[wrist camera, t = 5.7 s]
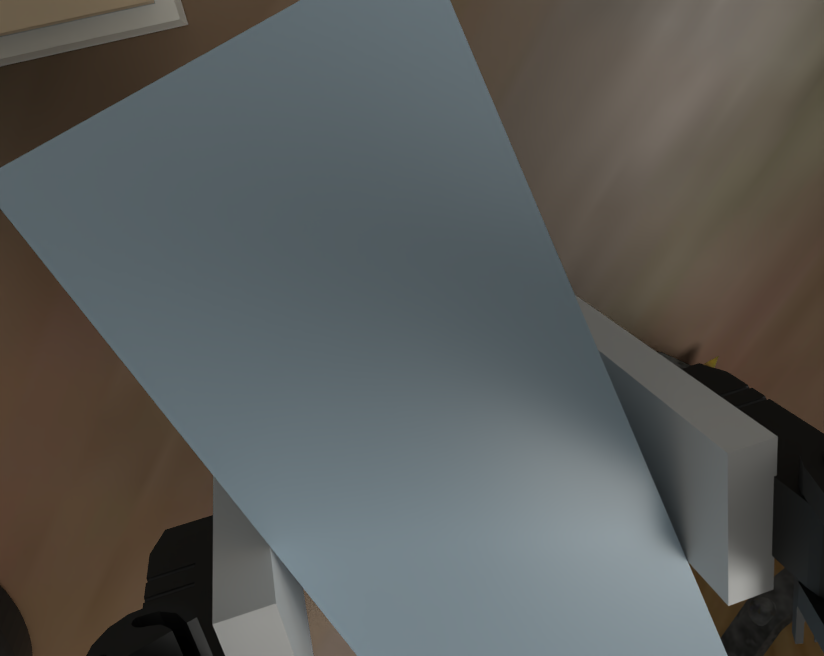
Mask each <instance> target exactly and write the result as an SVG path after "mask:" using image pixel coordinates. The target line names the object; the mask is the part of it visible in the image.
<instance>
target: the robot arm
mask: <svg viewBox="0 0 824 656" xmlns="http://www.w3.org/2000/svg"><path fill="white" fill-rule="evenodd" d="M575 297H576V299H577V302H578V304H579V306H580V309H581V311H582V313H583V316H584V318H585V320H586V323H587V325H588V327H589V330H590V332H591V335H592V337H593V339H594V342H595V344H596V346H597V349H598V351H599V353H600V356H601V358H602V361H603V363H604V365H605V368H606V370H607V372H608V375H609V377H610V379H611V382H612V384H613V386H614V389H615V391H616V394H617V396H618V398H619V401H620V403H621V405H622V408H623V410H624V412H625V415H626V417H627V419H628V422H629V424H630V427H631V429H632V431H633V434H634V436H635V438H636V441H637V443H638V445H639V448H640V450H641V453H642V455H643V457H644V460H645V462H646V464H647V467H648V469H649V471H650V474H651V476H652V478H653V481H654V483H655V486H656V488H657V490H658V493H659V495H660V497H661V500H662V502H663V504H664V507H665V509H666V512H667V514H668V516H669V519H670V521H671V523H672V526H673V528H674V530H675V533H676V535H677V537H678V540H679V542H680V545H681V547H682V549H683V552H684V554H685V556H686V559H687V561H688V562H689V563H690V564H691V565H692V567H693V568H694V569H695V570H696V571H697V572H698V573H699V574H700V575H701V576H702V578H703V579H704V580H705V581H706V582H707V583H708V584H709V585H710V586H711V587H712V589H713V590H714V591H715V592H716V593H717V594H718V595H719V596H720V597H721V598H722V600H723V601H724V602H725V603H726V604H727V605H728V606H730V605H733V604H736V603H738V602H741V601H744V600H746V599H749V598H752V597H754V596H757V595H760V594H763V593H765V592H768V591H771V590H773V588H774V558H775V559H776V560H777V561H778V562H779V563H780V564H782V565H783V566H784V567H785V568H786V569H787V570H788V571H789V572H790V573H791V574H792V575H793V576H794V592H793V615H792V634H793V637H794V641H795V644H803V640H804V623H805V621H806V623H807V624H808V626H809V628H810V630H811V631H812V633H813V635H814V642H818V644H819V646H820V647H821V649H822V651H823V653H824V434H823V433H822V432H820V431H819V430H817V429H816V428H814V427H812V426H811V425H809V424H808V423H806V422H805V421H803V420H802V419H800V418H798V417H797V416H795V415H794V414H792V413H791V412H789V411H788V410H786V409H784V408H783V407H781V406H780V405H778V404H777V403H775V402H773V401H772V400H770V399H768V400H767V399H766V398H765V396H764V395H763V394H761V393H759V392H758V391H756V390H755V389H753V388H750V389H749V387H748V385H747V384H745V383H744V382H742V381H741V380H739V379H738V378H736V377H734V376H733V375H731V374H730V373H728V372H726V371H723V370H719V369H716V368H713V367H710V366H706V365H703V364H700V363H699V364H695V365H692V366H689V367H686V368H682V369H680V368H679V367H677V366H676V365H675V364H673V363H672V362H670V361H669V360H667V359H666V358H665V357H663V356H662V355H660V354H659V353H657V352H656V351H655V350H653V349H652V348H650V347H649V346H647V345H646V344H645V343H643V342H642V341H640V340H639V339H637V338H636V337H634V336H633V335H632V334H630V333H629V332H627V331H626V330H624V329H623V328H622V327H620V326H619V325H617V324H616V323H614V322H613V321H612V320H610V319H609V318H607V317H606V316H604V315H603V314H602V313H600V312H599V311H597V310H596V309H594V308H593V307H592V306H590V305H589V304H587V303H586V302H584V301H583V300H582V299H580V298H579V297H577V296H576V295H575ZM147 581H148V583H146V587H145V595H144V599H145V603H143V609H141V610H138V611H136V612H133V613H131V614H128V615H127V616H125V617H124V618H123V619H121V620H120V621H118V622H117V623H115V624H114V625H112V626H111V627H109V628H108V629H107V630H106V631H105V632H104V633H103V634H102V635H101V636H100V637H99V638H98V640H97V641H96V642H95V643H94V644H93V645H92V646H91V648H90V650H89V652H88V654H87V656H314V655H313V649H312V642H311V636H310V630H309V624H308V617H307V611H306V605H305V599H304V592H303V587H302V586H301V585H300V583H299V582H298V581H297V580H296V578H295V577H294V576H293V575H292V573H291V572H290V571H289V570H288V568H287V567H286V566H285V565H284V563H283V562H282V561H281V560H280V558H279V557H278V556H277V555H276V553H275V552H274V551H273V550H272V548H271V547H270V546H269V544H268V543H267V542H266V541H265V539H264V538H263V537H262V536H261V534H260V533H259V532H258V531H257V529H256V528H255V527H254V526H253V524H252V523H251V522H250V521H249V519H248V518H247V517H246V516H245V514H244V513H243V512H242V511H241V509H240V508H239V507H238V506H237V504H236V503H235V502H234V501H233V499H232V498H231V497H230V496H229V494H228V493H227V492H226V491H225V489H224V488H223V487H222V486H221V484H220V483H219V482H218V481H217V479H216V478H215V477H214V476H213V515H212V516H209V517H206V518H202V519H199V520H196V521H193V522H189V523H186V524H183V525H180V526H176V527H173V528H170V529H167V530H165V531H164V533H163V534H162V536H161V538H160V539H159V541H158V542H157V544H156V545H155V547H154V549H153V550H152V552H151V553H150V557H149V564H148V572H147ZM0 656H32V646H31V640H30V636H29V633H28V629H27V627H26V624H25V622H24V619H23V617H22V615H21V613H20V612H19V610H18V608H17V606H16V605H15V603H14V602H13V600H12V599H11V598H10V596H9V595H8V594H7V593H6V591H5V590H4V589H3V588H2V587H1V586H0Z"/></svg>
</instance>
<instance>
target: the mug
mask: <svg viewBox="0 0 824 656" xmlns="http://www.w3.org/2000/svg"><path fill="white" fill-rule="evenodd" d="M657 353H659V354H660V355H662V356H663V357H665V358H666V359H667V360H669V361H670V362H672V363H673V364H675V365H676V366H677V367H679V368H680V369H682V368H686V367H689V366H690V365H688V364H686V363H684V362H682V361H679V360H677V359H675V358H673V357H671V356H669V355H666V354H664V353H662V352H657ZM718 357H719V356H718ZM718 357H716V358H714V359H712V360H711V361H709V362H707V363H705V364H703V365H706V366H710V367H713V368H714V367H715V365H716V362H717V359H718ZM688 563H689V562H688ZM689 566H690V568H691V570H692V573H693V575H694V578H695V580H696V582H697V585H698V587H699V589H700V592H701V594H702V596H703V599H704V601H705V604H706V606H707V608H708V611H709V613H710V615H711V618H712V620H713V622H714V625H715V627H716V629H717V632H718V634H719V637H720V639H721V641H722V644H723V646H724V648H725V651H726V653H727V655H728V656H824V653H823V651H822V649H821V647H820V646H819V644H818V642H814V635H813V633H812V631H811V630H810V628H809V626H808V624H807V623H806V621H805V623H804V640H803V644H795V641H794V637H793V634H792V615H793V592H794V576H793V575H792V574H791V573H790V572H789V571H788V570H787V569H786V568H785V567H784V566H783V565H782V564H780V563H779V562H778V561H777V560H776V559H775V558H774V588H773V590H771V591H768V592H765V593H763V594H760V595H757V596H754V597H752V598H749V599H746V600H744V601H741V602H738V603H736V604H733V605H730V606H728V605H727V604H726V603H725V602H724V601H723V600H722V598H721V597H720V596H719V595H718V594H717V593H716V592H715V591H714V590H713V589H712V587H711V586H710V585H709V584H708V583H707V582H706V581H705V580H704V579H703V578H702V576H701V575H700V574H699V573H698V572H697V571H696V570H695V569H694V568H693V567H692V565H691V564H690V563H689Z"/></svg>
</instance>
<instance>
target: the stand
mask: <svg viewBox="0 0 824 656" xmlns="http://www.w3.org/2000/svg"><path fill="white" fill-rule="evenodd" d="M185 25H188V22H187V19H186V16H185V12H184V9H183V6H182V3H181V0H0V67H1V66H5V65H10V64H14V63H19V62H23V61H28V60H32V59H37V58H41V57H46V56H50V55H55V54H59V53H64V52H68V51H73V50H77V49H82V48H86V47H91V46H95V45H100V44H104V43H109V42H113V41H118V40H122V39H127V38H131V37H136V36H140V35H145V34H149V33H153V32H158V31H162V30H167V29H171V28H176V27H180V26H185Z"/></svg>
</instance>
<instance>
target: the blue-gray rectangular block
mask: <svg viewBox="0 0 824 656" xmlns="http://www.w3.org/2000/svg"><path fill="white" fill-rule="evenodd" d="M0 209H1V210H2V211H3V213H4V214H5V215H6V216H7V218H8V219H9V220H10V221H11V223H12V224H13V225H14V226H15V228H16V229H17V230H18V231H19V233H20V234H21V235H22V236H23V238H24V239H25V240H26V241H27V243H28V244H29V245H30V246H31V248H32V249H33V250H34V251H35V253H36V254H37V255H38V256H39V258H40V259H41V260H42V261H43V263H44V264H45V265H46V266H47V268H48V269H49V270H50V271H51V273H52V274H53V275H54V276H55V278H56V279H57V280H58V281H59V283H60V284H61V285H62V287H63V288H64V289H65V290H66V292H67V293H68V294H69V295H70V297H71V298H72V299H73V300H74V302H75V303H76V304H77V305H78V307H79V308H80V309H81V310H82V312H83V313H84V314H85V315H86V317H87V318H88V319H89V320H90V322H91V323H92V324H93V325H94V327H95V328H96V329H97V330H98V332H99V333H100V334H101V335H102V337H103V338H104V339H105V340H106V342H107V343H108V344H109V345H110V347H111V348H112V349H113V350H114V352H115V353H116V354H117V355H118V357H119V358H120V359H121V360H122V362H123V363H124V364H125V365H126V367H127V368H128V369H129V370H130V372H131V373H132V374H133V375H134V377H135V378H136V379H137V380H138V382H139V383H140V384H141V385H142V387H143V388H144V389H145V390H146V392H147V393H148V394H149V395H150V397H151V398H152V399H153V400H154V402H155V403H156V404H157V405H158V407H159V408H160V409H161V410H162V412H163V413H164V414H165V416H166V417H167V418H168V419H169V421H170V422H171V423H172V424H173V426H174V427H175V428H176V429H177V431H178V432H179V433H180V434H181V436H182V437H183V438H184V439H185V441H186V442H187V443H188V444H189V446H190V447H191V448H192V449H193V451H194V452H195V453H196V454H197V456H198V457H199V458H200V459H201V461H202V462H203V463H204V464H205V466H206V467H207V468H208V469H209V471H210V472H211V473H212V474H213V476H214V477H215V478H216V479H217V481H218V482H219V483H220V484H221V486H222V487H223V488H224V489H225V491H226V492H227V493H228V494H229V496H230V497H231V498H232V499H233V501H234V502H235V503H236V504H237V506H238V507H239V508H240V509H241V511H242V512H243V513H244V514H245V516H246V517H247V518H248V519H249V521H250V522H251V523H252V524H253V526H254V527H255V528H256V529H257V531H258V532H259V533H260V534H261V536H262V537H263V538H264V539H265V541H266V542H267V543H268V544H269V546H270V547H271V548H272V550H273V551H274V552H275V553H276V555H277V556H278V557H279V558H280V560H281V561H282V562H283V563H284V565H285V566H286V567H287V568H288V570H289V571H290V572H291V573H292V575H293V576H294V577H295V578H296V580H297V581H298V582H299V583H300V585H301V586H302V587H303V588H304V590H305V591H306V592H307V593H308V595H309V596H310V597H311V598H312V600H313V601H314V602H315V603H316V605H317V606H318V607H319V608H320V610H321V611H322V612H323V613H324V615H325V616H326V617H327V618H328V620H329V621H330V622H331V623H332V625H333V626H334V627H335V628H336V630H337V631H338V632H339V633H340V635H341V636H342V637H343V638H344V640H345V641H346V642H347V643H348V645H349V646H350V647H351V648H352V650H353V651H354V652H355V653H356V655H357V656H728V655H727V653H726V651H725V648H724V646H723V644H722V641H721V639H720V637H719V634H718V632H717V629H716V627H715V625H714V622H713V620H712V618H711V615H710V613H709V611H708V608H707V606H706V604H705V601H704V599H703V596H702V594H701V592H700V589H699V587H698V585H697V582H696V580H695V578H694V575H693V573H692V570H691V568H690V566H689V563H688V561H687V559H686V556H685V554H684V552H683V549H682V547H681V545H680V542H679V540H678V537H677V535H676V533H675V530H674V528H673V526H672V523H671V521H670V519H669V516H668V514H667V512H666V509H665V507H664V504H663V502H662V500H661V497H660V495H659V493H658V490H657V488H656V486H655V483H654V481H653V478H652V476H651V474H650V471H649V469H648V467H647V464H646V462H645V460H644V457H643V455H642V453H641V450H640V448H639V445H638V443H637V441H636V438H635V436H634V434H633V431H632V429H631V427H630V424H629V422H628V419H627V417H626V415H625V412H624V410H623V408H622V405H621V403H620V401H619V398H618V396H617V394H616V391H615V389H614V386H613V384H612V382H611V379H610V377H609V375H608V372H607V370H606V368H605V365H604V363H603V361H602V358H601V356H600V353H599V351H598V349H597V346H596V344H595V342H594V339H593V337H592V335H591V332H590V330H589V327H588V325H587V323H586V320H585V318H584V316H583V313H582V311H581V309H580V306H579V304H578V302H577V299H576V297H575V294H574V292H573V290H572V287H571V285H570V283H569V280H568V278H567V276H566V273H565V271H564V268H563V266H562V264H561V261H560V259H559V257H558V254H557V252H556V250H555V247H554V245H553V243H552V240H551V238H550V235H549V233H548V231H547V228H546V226H545V224H544V221H543V219H542V217H541V214H540V212H539V210H538V207H537V205H536V202H535V200H534V198H533V195H532V193H531V191H530V188H529V186H528V184H527V181H526V179H525V176H524V174H523V172H522V169H521V167H520V165H519V162H518V160H517V158H516V155H515V153H514V151H513V148H512V146H511V143H510V141H509V139H508V136H507V134H506V132H505V129H504V127H503V125H502V122H501V120H500V117H499V115H498V113H497V110H496V108H495V106H494V103H493V101H492V99H491V96H490V94H489V92H488V89H487V87H486V84H485V82H484V80H483V77H482V75H481V73H480V70H479V68H478V66H477V63H476V61H475V59H474V56H473V54H472V51H471V49H470V47H469V44H468V42H467V40H466V37H465V35H464V33H463V30H462V28H461V25H460V23H459V21H458V18H457V16H456V14H455V11H454V9H453V7H452V4H451V2H450V0H300V1H298V2H297V3H295V4H293V5H291V6H289V7H288V8H286V9H284V10H282V11H281V12H279V13H277V14H275V15H273V16H272V17H270V18H268V19H266V20H264V21H263V22H261V23H259V24H257V25H255V26H254V27H252V28H250V29H248V30H246V31H245V32H243V33H241V34H239V35H238V36H236V37H234V38H232V39H230V40H229V41H227V42H225V43H223V44H221V45H220V46H218V47H216V48H214V49H212V50H211V51H209V52H207V53H205V54H203V55H202V56H200V57H198V58H196V59H194V60H193V61H191V62H189V63H187V64H186V65H184V66H182V67H180V68H178V69H177V70H175V71H173V72H171V73H169V74H168V75H166V76H164V77H162V78H160V79H159V80H157V81H155V82H153V83H151V84H150V85H148V86H146V87H144V88H143V89H141V90H139V91H137V92H135V93H134V94H132V95H130V96H128V97H126V98H125V99H123V100H121V101H119V102H117V103H116V104H114V105H112V106H110V107H108V108H107V109H105V110H103V111H101V112H99V113H98V114H96V115H94V116H92V117H91V118H89V119H87V120H85V121H83V122H82V123H80V124H78V125H76V126H74V127H73V128H71V129H69V130H67V131H65V132H64V133H62V134H60V135H58V136H56V137H55V138H53V139H51V140H49V141H48V142H46V143H44V144H42V145H40V146H39V147H37V148H35V149H33V150H31V151H30V152H28V153H26V154H24V155H22V156H21V157H19V158H17V159H15V160H13V161H12V162H10V163H8V164H6V165H5V166H3V167H1V168H0Z"/></svg>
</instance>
